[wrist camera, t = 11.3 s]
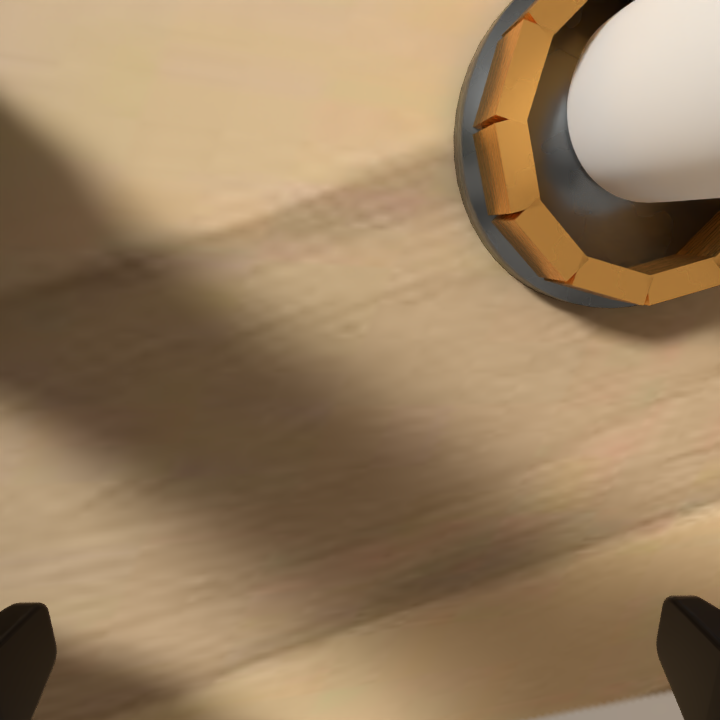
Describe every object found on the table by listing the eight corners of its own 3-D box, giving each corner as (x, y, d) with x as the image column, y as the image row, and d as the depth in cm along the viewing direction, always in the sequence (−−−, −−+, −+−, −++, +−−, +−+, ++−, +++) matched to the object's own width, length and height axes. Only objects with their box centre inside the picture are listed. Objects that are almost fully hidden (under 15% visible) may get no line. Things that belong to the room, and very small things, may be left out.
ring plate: (489, 341, 21) (523, 357, 18) (419, -3, 18) (446, -47, 16) (771, 258, 22) (844, 262, 19) (747, -81, 19) (830, -136, 16)
